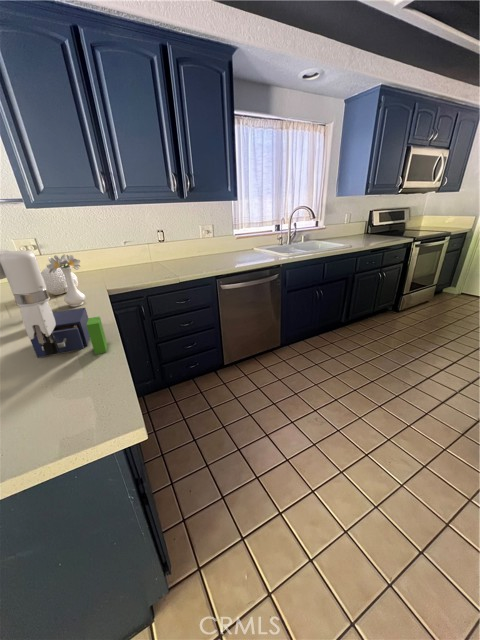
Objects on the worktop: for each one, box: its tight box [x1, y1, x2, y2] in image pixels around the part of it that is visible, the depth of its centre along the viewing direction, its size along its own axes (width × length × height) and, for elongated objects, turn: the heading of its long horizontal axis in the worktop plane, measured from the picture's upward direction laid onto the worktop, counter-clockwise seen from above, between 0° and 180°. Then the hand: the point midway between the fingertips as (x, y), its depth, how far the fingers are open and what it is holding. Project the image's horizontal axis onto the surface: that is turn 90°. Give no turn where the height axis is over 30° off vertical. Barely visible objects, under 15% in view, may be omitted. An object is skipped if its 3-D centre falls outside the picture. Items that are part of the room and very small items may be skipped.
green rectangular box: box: [87, 316, 108, 355], centre depth 89 cm, size 4×6×11 cm, turn 22°
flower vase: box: [46, 254, 87, 308], centre depth 129 cm, size 13×18×25 cm
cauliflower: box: [41, 267, 79, 296], centre depth 151 cm, size 20×18×16 cm
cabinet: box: [52, 307, 90, 347], centre depth 96 cm, size 15×15×10 cm
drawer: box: [29, 324, 85, 359], centre depth 90 cm, size 18×13×8 cm
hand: (53, 353), depth 81 cm, fingers closed
